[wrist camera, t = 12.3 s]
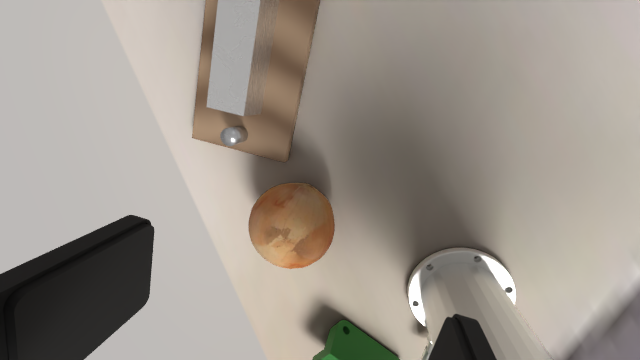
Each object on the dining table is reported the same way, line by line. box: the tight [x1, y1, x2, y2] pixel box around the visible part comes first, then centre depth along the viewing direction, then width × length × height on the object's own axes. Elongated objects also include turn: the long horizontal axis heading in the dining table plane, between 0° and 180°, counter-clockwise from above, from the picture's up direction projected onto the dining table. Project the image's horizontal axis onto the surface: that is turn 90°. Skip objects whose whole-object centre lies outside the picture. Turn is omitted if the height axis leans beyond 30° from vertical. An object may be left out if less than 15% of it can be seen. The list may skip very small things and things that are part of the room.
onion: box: [249, 183, 334, 269], centre depth 34 cm, size 10×10×10 cm
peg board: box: [192, 0, 320, 162], centre depth 32 cm, size 22×12×4 cm, turn 167°
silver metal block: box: [207, 0, 279, 116], centre depth 31 cm, size 4×12×5 cm, turn 167°
